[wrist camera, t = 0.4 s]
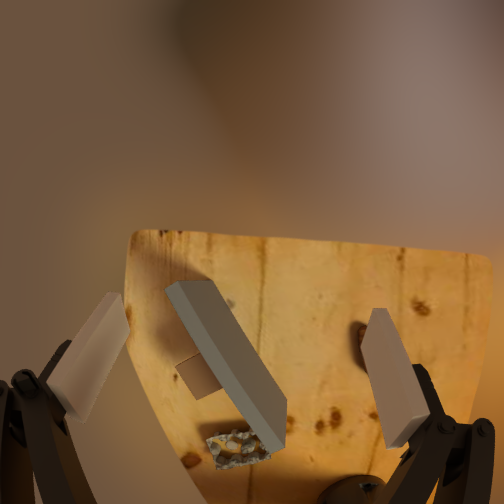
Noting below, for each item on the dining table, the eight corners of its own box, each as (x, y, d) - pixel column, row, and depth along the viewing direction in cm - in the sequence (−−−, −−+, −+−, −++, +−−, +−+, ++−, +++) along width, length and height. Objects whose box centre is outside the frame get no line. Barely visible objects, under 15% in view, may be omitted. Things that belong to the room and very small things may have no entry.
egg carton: (218, 459, 46) (213, 471, 42) (207, 429, 47) (201, 439, 43) (273, 454, 45) (272, 466, 41) (264, 422, 46) (262, 433, 42)
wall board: (287, 399, 46) (285, 447, 30) (237, 423, 46) (217, 473, 31) (212, 280, 49) (177, 280, 33) (165, 309, 50) (116, 320, 34)
